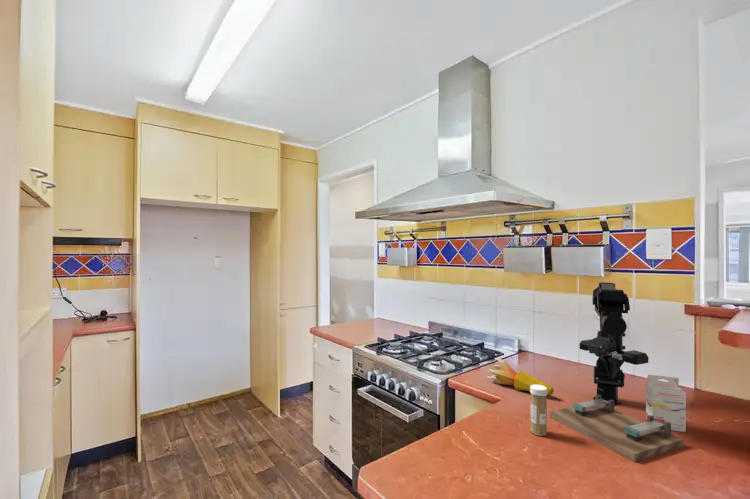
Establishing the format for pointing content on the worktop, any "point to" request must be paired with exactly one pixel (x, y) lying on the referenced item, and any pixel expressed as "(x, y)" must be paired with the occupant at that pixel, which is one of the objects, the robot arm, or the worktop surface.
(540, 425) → the sprinkles bottle
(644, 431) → the bar
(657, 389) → the ink cartridge box
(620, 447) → the jig board
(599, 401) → the bar
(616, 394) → the robot arm
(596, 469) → the worktop surface
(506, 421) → the worktop surface
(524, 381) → the torch
